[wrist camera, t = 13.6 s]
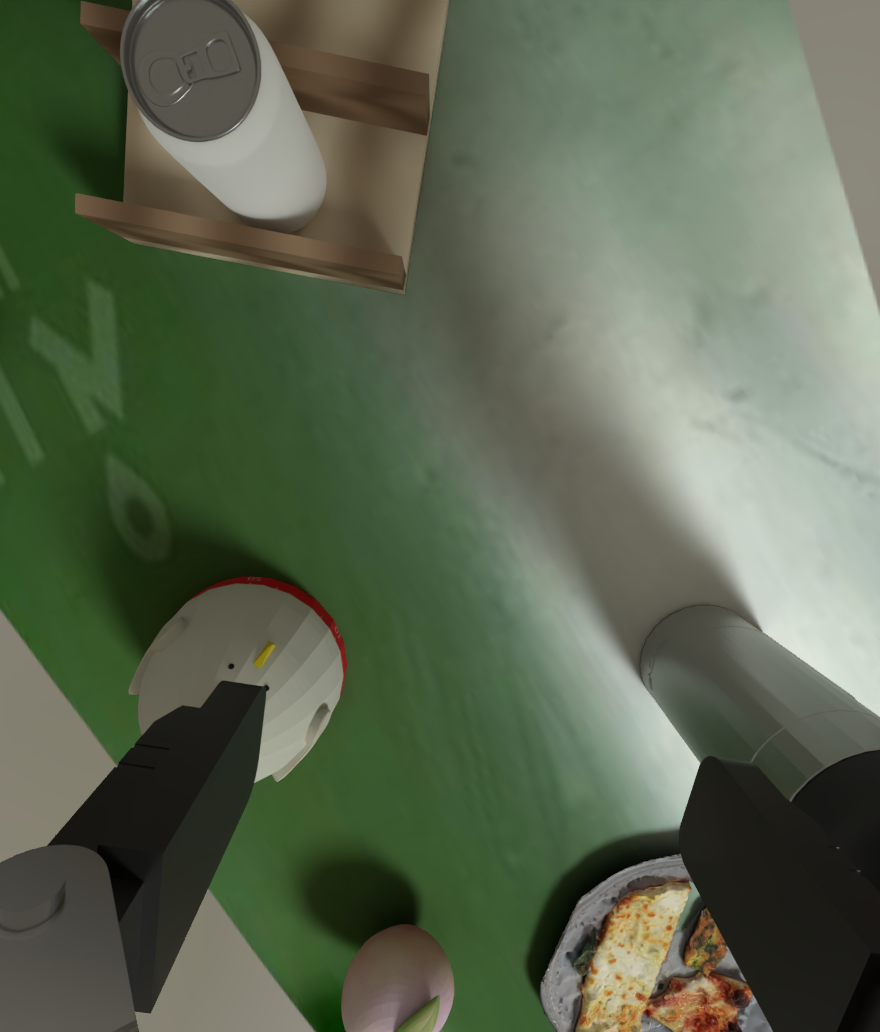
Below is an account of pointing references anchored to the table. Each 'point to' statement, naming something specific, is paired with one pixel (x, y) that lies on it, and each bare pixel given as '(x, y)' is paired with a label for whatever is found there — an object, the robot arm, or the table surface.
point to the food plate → (646, 962)
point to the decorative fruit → (398, 983)
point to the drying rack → (336, 129)
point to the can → (224, 109)
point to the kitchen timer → (250, 662)
